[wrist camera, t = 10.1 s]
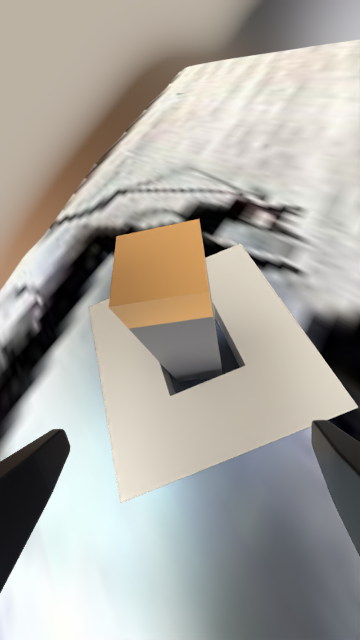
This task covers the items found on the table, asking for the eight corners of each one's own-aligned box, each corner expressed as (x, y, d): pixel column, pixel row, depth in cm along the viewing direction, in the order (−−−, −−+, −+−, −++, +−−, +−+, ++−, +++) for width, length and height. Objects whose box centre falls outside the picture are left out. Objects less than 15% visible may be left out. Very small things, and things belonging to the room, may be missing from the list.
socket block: (339, 412, 17) (358, 407, 14) (137, 494, 17) (120, 503, 15) (240, 264, 25) (240, 243, 22) (103, 320, 25) (88, 306, 23)
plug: (223, 377, 20) (208, 291, 9) (177, 381, 20) (108, 307, 9) (217, 334, 22) (199, 219, 10) (175, 340, 22) (116, 236, 11)
